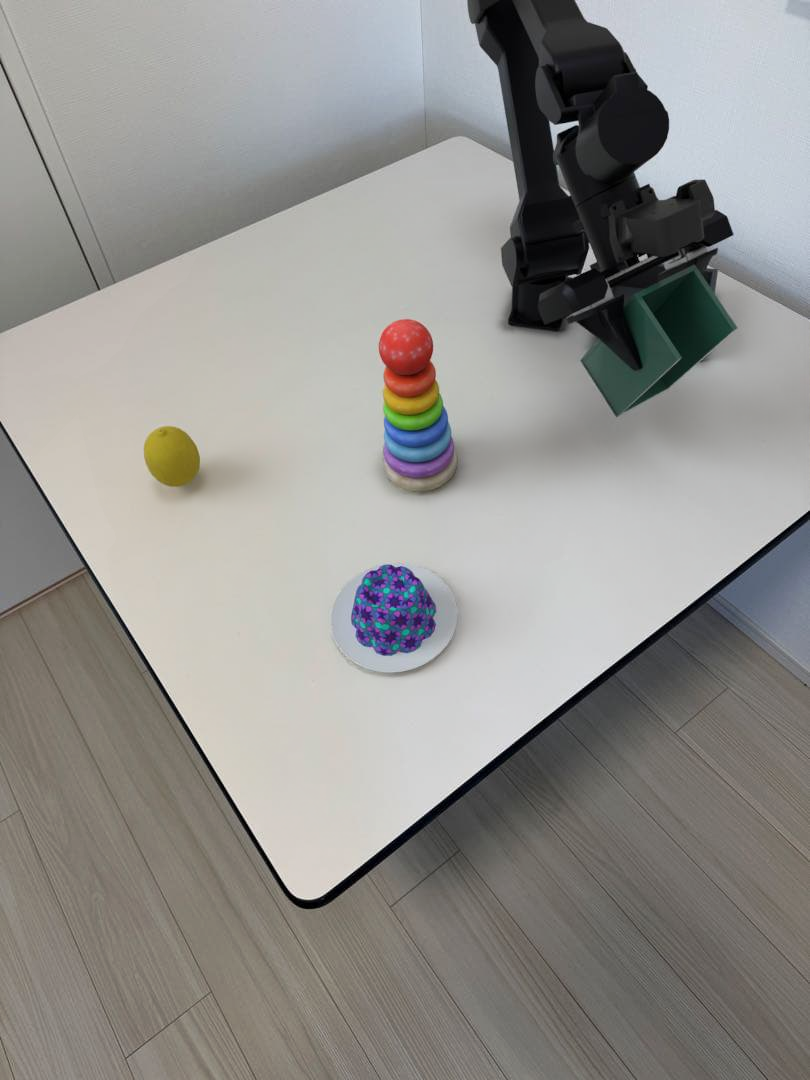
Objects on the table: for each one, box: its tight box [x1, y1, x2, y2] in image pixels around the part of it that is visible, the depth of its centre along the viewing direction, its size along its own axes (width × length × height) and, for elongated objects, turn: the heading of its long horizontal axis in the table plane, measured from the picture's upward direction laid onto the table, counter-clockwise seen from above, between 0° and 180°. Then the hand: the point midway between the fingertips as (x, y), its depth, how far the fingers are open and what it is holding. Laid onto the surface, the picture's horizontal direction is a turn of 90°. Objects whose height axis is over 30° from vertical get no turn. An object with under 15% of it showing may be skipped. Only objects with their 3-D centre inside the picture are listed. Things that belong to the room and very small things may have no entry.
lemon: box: [143, 425, 201, 488], centre depth 87 cm, size 6×6×8 cm
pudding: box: [329, 562, 459, 673], centre depth 75 cm, size 12×12×5 cm
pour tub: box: [579, 264, 738, 418], centre depth 78 cm, size 7×7×13 cm
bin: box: [595, 261, 719, 362], centre depth 98 cm, size 12×12×4 cm
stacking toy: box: [378, 318, 458, 493], centre depth 81 cm, size 8×8×19 cm
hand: (668, 353), depth 77 cm, fingers closed on pour tub, 7 cm apart
